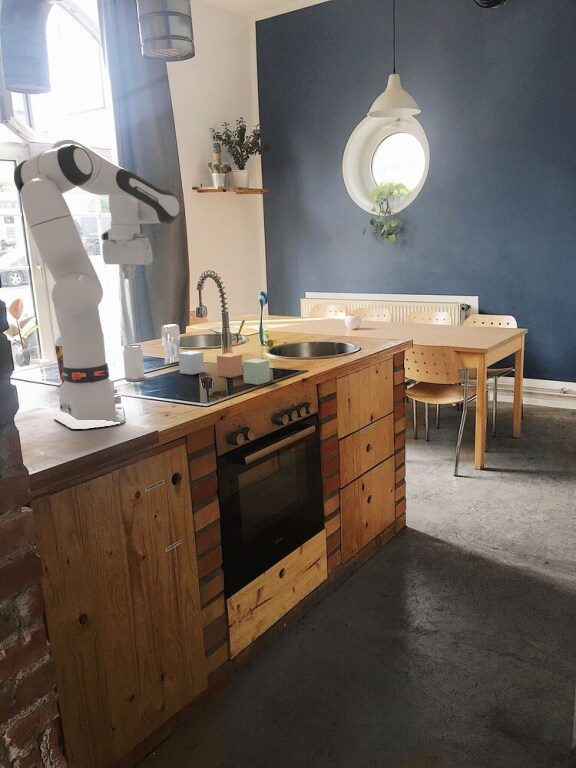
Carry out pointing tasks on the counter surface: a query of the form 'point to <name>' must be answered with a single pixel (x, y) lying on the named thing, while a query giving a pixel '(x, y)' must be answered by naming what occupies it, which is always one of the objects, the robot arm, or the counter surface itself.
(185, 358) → the bluegrey block
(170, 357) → the beer glass
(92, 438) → the counter surface
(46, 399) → the counter surface
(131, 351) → the can
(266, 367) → the sage block
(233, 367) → the terracotta block
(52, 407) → the counter surface
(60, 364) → the smoothie
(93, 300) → the robot arm
